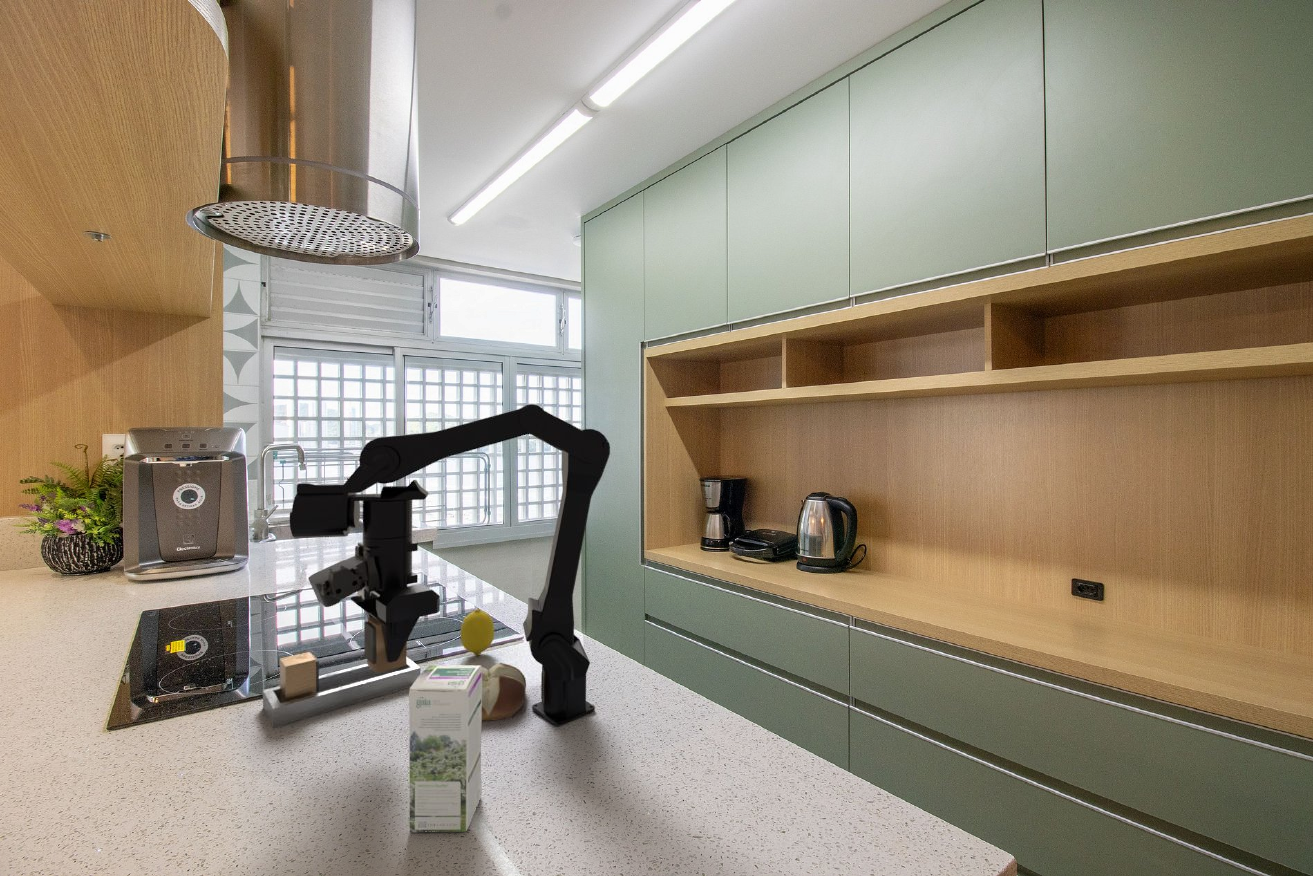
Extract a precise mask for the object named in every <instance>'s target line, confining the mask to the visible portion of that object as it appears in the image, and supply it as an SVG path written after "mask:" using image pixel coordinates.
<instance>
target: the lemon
mask: <svg viewBox="0 0 1313 876" xmlns="http://www.w3.org/2000/svg"><path fill="white" fill-rule="evenodd" d="M494 636H495V626H494V622H493V618H492V617H491V616H490V615H489V613H487V612H486V611H483V610H481V609H480V608H476V609H475V610H474V611H472V612H470V613H469V614H467V615H466V616H465V617H464V619H463V621H462V623H461V628H460V640H461V644H462V646H463V647H464V649H465V650H466V651H467V652H470V653H472V654H474V656H480V654H481V653H483V652H485V651H486V650H487V649H488V648H489V647H491V645H492V642H493V640H494V638H495V637H494Z"/></svg>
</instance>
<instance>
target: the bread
mask: <svg viewBox="0 0 1313 876" xmlns="http://www.w3.org/2000/svg"><path fill="white" fill-rule="evenodd" d="M481 667H482V666H481ZM526 688H527V681H526V677H525V675H524V674H523V672H522V671H521V670H520V669H519V668H517V667H515V666H513V665H510V664H508V663H503V662H499V663H496V664H495V665H494V666H492V667H491V668H490V669H487V668H485V667H484V666H483V667H482V715H481V716H482V719H481V721H498V720H505V719H508V718H510V717H513V716H514V715H515V714H516V713H517V712H518V711H519V710H520V709H521V708H522V706H523V704H524V702H525V700H526V691H527V690H526Z"/></svg>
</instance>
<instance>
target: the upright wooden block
mask: <svg viewBox="0 0 1313 876" xmlns="http://www.w3.org/2000/svg"><path fill="white" fill-rule="evenodd" d="M366 618H367V617H366ZM407 642H408V641H407ZM407 642H406V644H405V646H404V648H403V650H402V652H401V654H400V656H399V658H398V660H397V661H394V662H388V660H387V655H386V650H385V643H384V637H383V631H382V624H381V622H379V621H378V620H377V619H375V618H374V617H370V618H367V620H366V621H364V641H363V643H364V648H363V649H364V652H363V653H364V658H366V664H367V665H368V666H369V667H370V668H371V669H372V670H373V671H374V672H376V673H381V672H384V671H388V670H392V669H396V668H399V667H403V666H407V657H408V655H407V653H408V652H407V651H408V650H407V648H408V646H407V645H408V643H407Z"/></svg>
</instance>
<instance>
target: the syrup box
mask: <svg viewBox="0 0 1313 876" xmlns="http://www.w3.org/2000/svg"><path fill="white" fill-rule="evenodd" d="M408 688H409V690H408V691H409V692H408V693H409V695H408V703H409V704H408V706H409V707H408V708H409V709H408V710H409V711H408V712H409V714H408V715H409V717H408V723H409V733H408V736H409V737H408V741H409V743H408V744H409V745H408V747H409V748H408V749H409V750H408V753H409V757H408V758H409V759H408V760H409V761H408V763H409V764H408V766H409V769H408V770H409V772H408V774H409V775H408V777H409V778H408V779H409V781H408V785H409V786H408V787H409V789H408V792H409V794H408V795H409V797H408V798H409V802H408V805H409V809H408V811H409V818H408V819H409V820H408V821H409V824H408V825H409V827H408V828H409V830H408V831H409V833H433V832H432V831H435V832H434V833H437V832H436V831H439V832H438V833H466V832H467V830H468V828H469V827H470V824H471V822H472V820H473V817H474V815H475V813H476V809H477V808H478V805H479V804H480V801H479V800H481V797H482V720H481V719H482V716H481V715H482V665H429V666H427V667H426V668H425V669H424V670H423V671H422V672H420V675H419V677H418V678H417V679H416V681H415V682H414V683H413V685H412V686H411V687H408ZM476 807H477V808H476ZM474 812H475V813H474ZM473 814H474V815H473ZM471 819H472V820H471ZM422 831H423V832H422ZM425 831H427V832H425ZM429 831H431V832H429ZM441 831H443V832H441ZM445 831H446V832H445ZM450 831H451V832H450ZM465 831H466V832H465Z"/></svg>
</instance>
